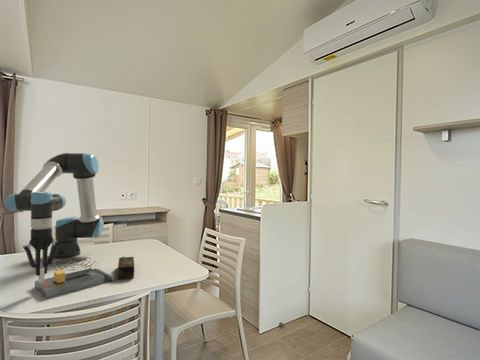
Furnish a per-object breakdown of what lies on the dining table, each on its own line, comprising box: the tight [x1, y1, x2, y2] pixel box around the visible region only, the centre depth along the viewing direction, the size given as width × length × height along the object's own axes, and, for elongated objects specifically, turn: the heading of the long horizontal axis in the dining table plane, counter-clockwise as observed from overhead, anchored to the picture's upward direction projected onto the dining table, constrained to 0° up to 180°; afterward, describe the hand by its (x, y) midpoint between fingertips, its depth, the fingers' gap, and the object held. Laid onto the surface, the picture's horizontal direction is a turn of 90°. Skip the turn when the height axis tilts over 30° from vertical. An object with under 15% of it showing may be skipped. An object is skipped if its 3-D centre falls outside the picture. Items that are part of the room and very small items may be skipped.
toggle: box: [53, 269, 66, 283], centre depth 127 cm, size 5×3×4 cm, turn 50°
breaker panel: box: [34, 268, 106, 300], centre depth 130 cm, size 16×24×3 cm, turn 140°
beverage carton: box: [116, 256, 135, 281], centre depth 148 cm, size 8×19×7 cm, turn 21°
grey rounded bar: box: [92, 268, 116, 282], centre depth 141 cm, size 17×4×2 cm, turn 50°
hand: (41, 281), depth 122 cm, fingers closed
